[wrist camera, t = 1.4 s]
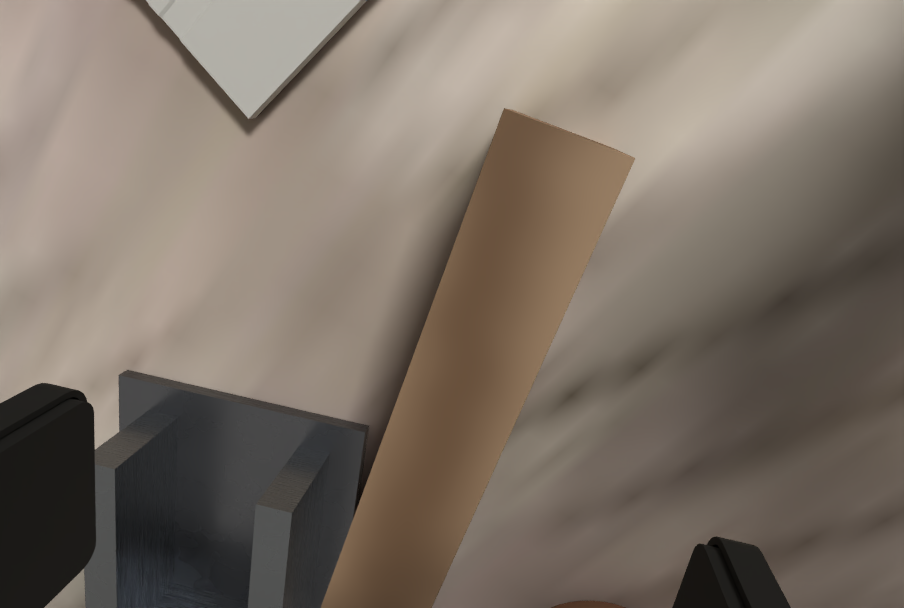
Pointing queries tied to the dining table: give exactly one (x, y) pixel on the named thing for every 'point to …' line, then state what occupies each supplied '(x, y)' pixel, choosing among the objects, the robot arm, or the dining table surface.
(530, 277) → the rail
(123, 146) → the dining table surface
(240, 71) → the baseboard molding
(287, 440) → the bracket
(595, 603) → the brown round cylinder
